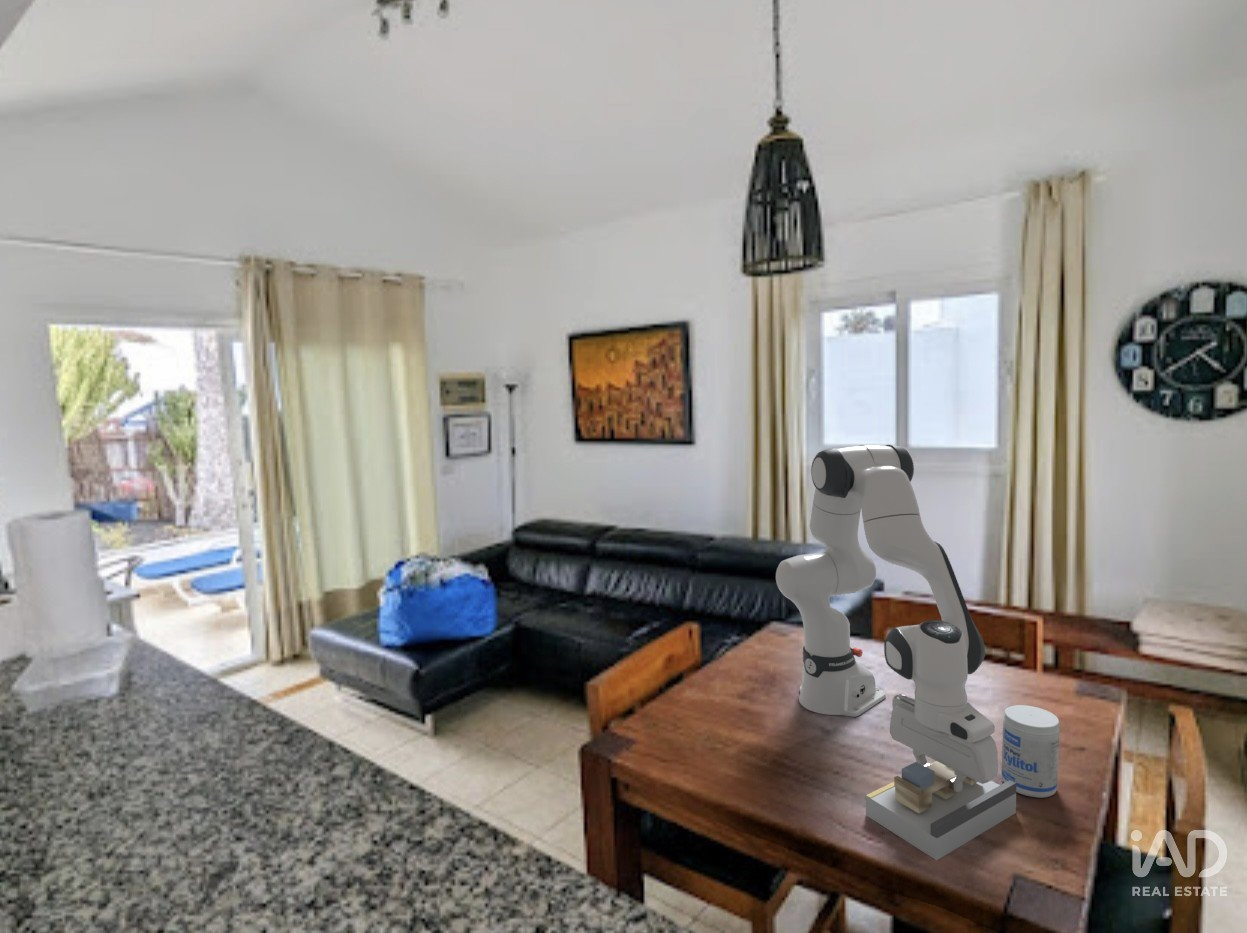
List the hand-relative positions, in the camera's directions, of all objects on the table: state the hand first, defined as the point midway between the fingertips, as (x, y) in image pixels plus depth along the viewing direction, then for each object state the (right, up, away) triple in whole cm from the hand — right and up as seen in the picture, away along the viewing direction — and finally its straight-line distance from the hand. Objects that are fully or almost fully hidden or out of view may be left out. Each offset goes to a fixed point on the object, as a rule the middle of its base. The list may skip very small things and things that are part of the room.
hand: (940, 781), depth 129 cm
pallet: (0, -2, 0) cm, 2 cm away
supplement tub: (+21, -5, +8) cm, 23 cm away
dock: (0, -7, +1) cm, 7 cm away
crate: (-6, +1, -3) cm, 7 cm away
